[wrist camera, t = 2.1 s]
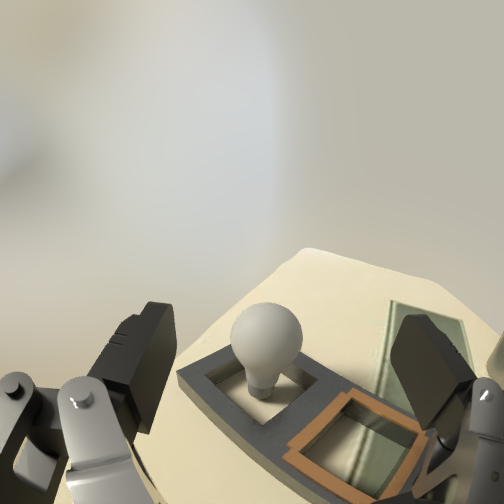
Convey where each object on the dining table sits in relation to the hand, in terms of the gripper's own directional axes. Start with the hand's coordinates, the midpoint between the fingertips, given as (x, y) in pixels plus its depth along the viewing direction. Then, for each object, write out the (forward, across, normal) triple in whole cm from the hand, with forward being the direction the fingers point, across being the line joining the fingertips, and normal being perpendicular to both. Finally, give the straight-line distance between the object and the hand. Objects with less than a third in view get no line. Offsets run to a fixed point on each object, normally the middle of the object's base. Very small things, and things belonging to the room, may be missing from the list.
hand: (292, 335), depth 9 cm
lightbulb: (+11, 0, +18) cm, 21 cm away
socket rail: (+7, -4, +17) cm, 19 cm away
